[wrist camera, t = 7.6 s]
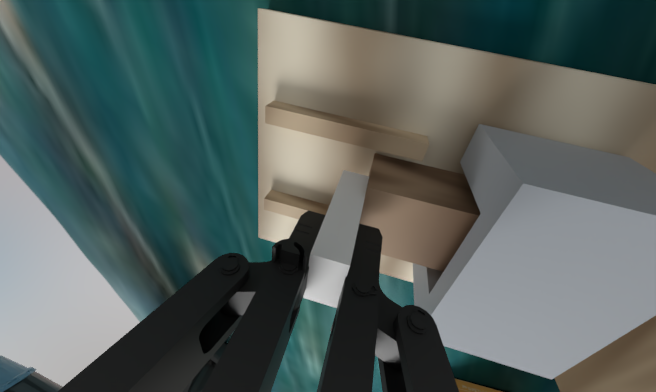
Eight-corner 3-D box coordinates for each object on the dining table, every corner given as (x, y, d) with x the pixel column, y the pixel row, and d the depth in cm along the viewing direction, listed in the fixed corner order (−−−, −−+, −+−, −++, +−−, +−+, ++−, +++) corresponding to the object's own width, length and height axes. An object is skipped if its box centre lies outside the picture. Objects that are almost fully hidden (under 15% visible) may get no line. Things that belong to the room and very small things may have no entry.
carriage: (412, 256, 19) (415, 337, 14) (479, 123, 13) (523, 183, 8) (512, 284, 18) (551, 379, 13) (629, 157, 13) (772, 243, 8)
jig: (264, 228, 23) (188, 342, 15) (267, 9, 14) (73, -8, 6) (548, 310, 21) (645, 501, 12) (781, 108, 11) (1746, 333, 3)
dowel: (360, 205, 18) (351, 245, 15) (374, 153, 16) (367, 187, 12) (511, 245, 17) (537, 297, 14) (550, 195, 15) (592, 244, 11)
